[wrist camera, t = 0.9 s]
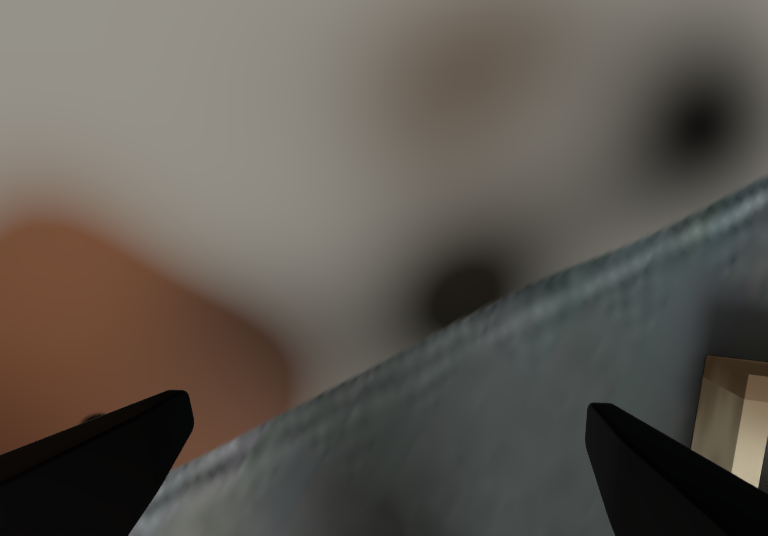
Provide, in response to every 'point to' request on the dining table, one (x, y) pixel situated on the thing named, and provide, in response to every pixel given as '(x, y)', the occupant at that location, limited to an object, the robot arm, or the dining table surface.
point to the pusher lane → (733, 416)
